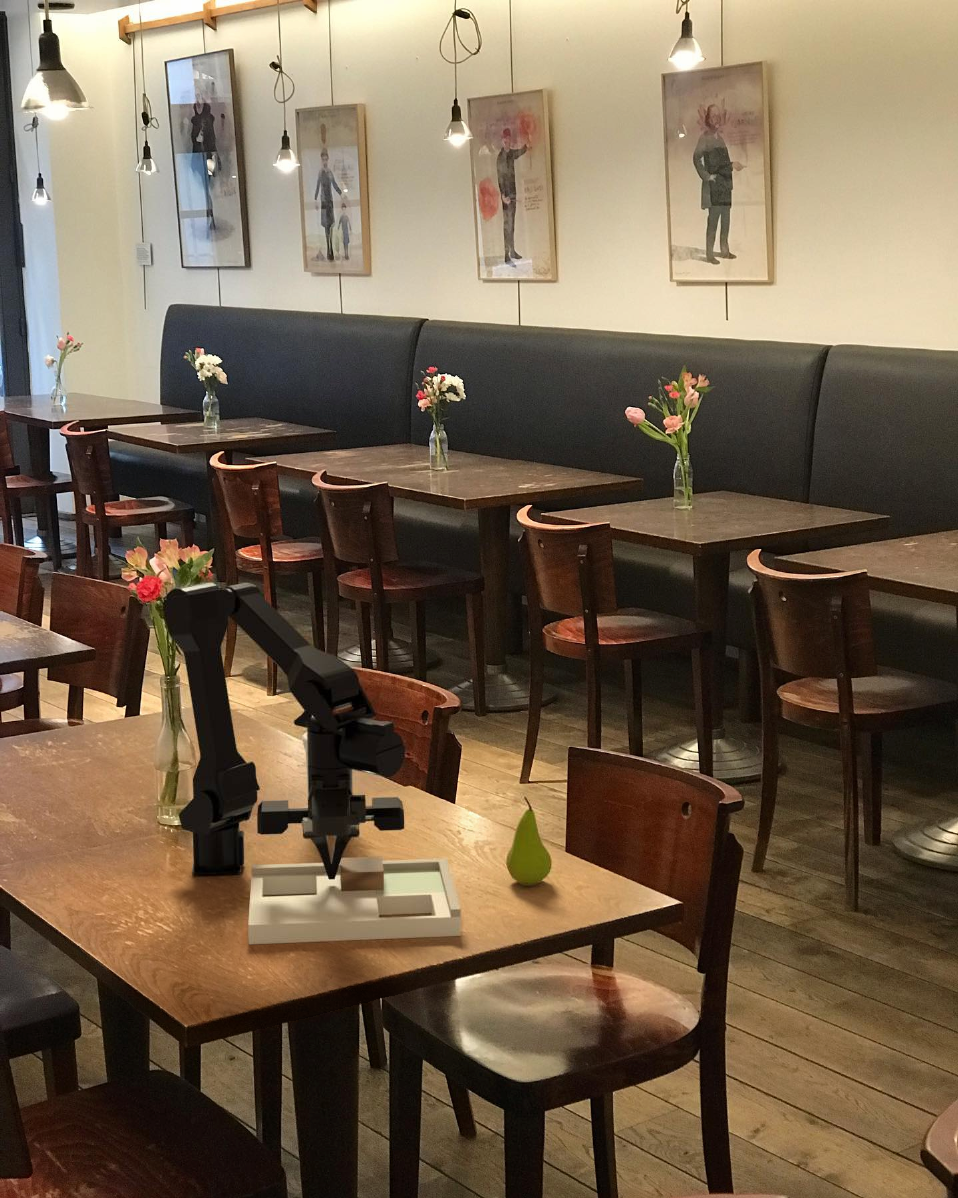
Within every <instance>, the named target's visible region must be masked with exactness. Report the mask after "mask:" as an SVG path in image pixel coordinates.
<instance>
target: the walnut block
mask: <svg viewBox="0 0 958 1198" xmlns="http://www.w3.org/2000/svg"><path fill="white" fill-rule="evenodd" d="M382 861H383V856H364V857H363V856H362V857H361V856H360V857H355V856H354V857H342V858H341V861H340V880H341V891H365V890H384V870H383V862H382Z"/></svg>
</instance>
